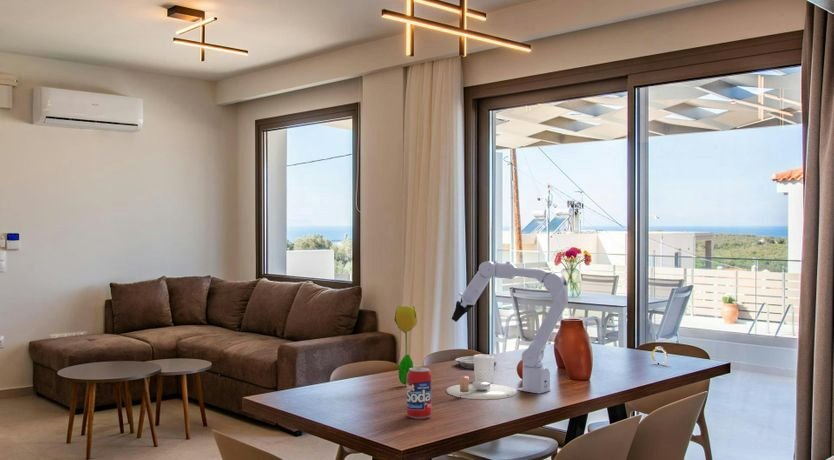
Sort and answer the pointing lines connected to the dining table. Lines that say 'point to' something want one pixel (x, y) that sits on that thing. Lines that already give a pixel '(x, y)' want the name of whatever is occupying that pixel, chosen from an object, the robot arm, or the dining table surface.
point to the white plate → (483, 392)
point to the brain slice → (468, 362)
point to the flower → (405, 323)
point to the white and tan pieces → (476, 385)
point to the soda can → (419, 393)
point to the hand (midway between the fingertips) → (455, 318)
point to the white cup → (484, 367)
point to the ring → (659, 349)
